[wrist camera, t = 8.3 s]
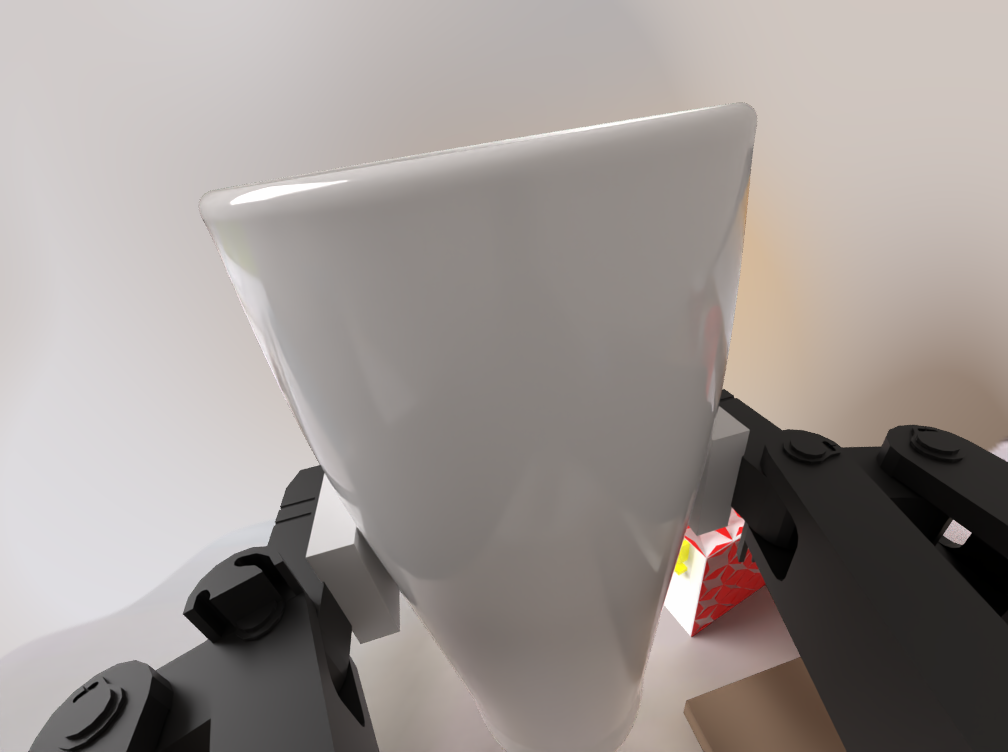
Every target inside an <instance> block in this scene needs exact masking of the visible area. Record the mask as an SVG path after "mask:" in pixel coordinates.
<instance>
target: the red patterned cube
mask: <svg viewBox="0 0 1008 752" xmlns="http://www.w3.org/2000/svg"><path fill="white" fill-rule="evenodd" d="M744 522H745V521H744V519H743V518H742V517H741V516H740V515H739V514H738V513H737V512H736V511H735V510H734V509H733V508H732V509H731V514H730V518H729V522H728V526H727V527H724V528H721V529H718V530H714V531H711V532H708V533H705V534H702V535H699V536H696V535H695V533H694V532H693V531H692V530H691V528H690V527H689V526H688V527H687V531H686V534H685V537H684V540H683V544H682V547H681V550H680V554H679V557H678V560H677V564H676V567H675V570H674V573H673V577H672V580H671V583H670V587H669V590H668V593H667V597H666V600H665V604H664V605H665V607H666V608H667V609H668V610H669V611H670V612H671V614H672V615H673V616H674V617H675V618H676V619H677V621H678V622H679V623H680V624H681V625H682V626H683V628H684V629H685V630H686V631H687V632H688V634H689V635H690V636H691V637H692V636H694V635H695V634H697V633H698V632H699V631H701V630H702V629H704V628H705V627H707V626H708V625H709V624H711V623H712V621H713V620H716V619H717V618H719V617H720V616H722V615H723V614H724V613H726V612H727V611H729V610H730V609H731V608H733V607H734V606H736V605H737V604H739V603H740V602H741V601H743V600H744V599H746V598H747V597H749V596H750V595H751V594H753V593H754V592H756V591H757V590H758V589H759V588H761V587H763V586H764V585H766V584H765V581H764V579H763V577H762V575H761V573H760V571H759V569H758V567H757V565H756V563H755V562H752V561H751V559H752V555H751V552H750V550H749V548H748V550H747V553H746V557H745V560H744V562H738V558H737V553H736V552H737V549H738V545H739V541H740V537H741V534H742V530H743V526H744Z"/></svg>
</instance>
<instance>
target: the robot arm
mask: <svg viewBox="0 0 1008 752" xmlns="http://www.w3.org/2000/svg"><path fill="white" fill-rule="evenodd" d="M280 507H281V510H279V512H278V515H277V518H276V521H275V523H276V526H274V527H273V530H272V533H271V536H270V539H269V542H268V545H267V546H265V547H252V548H249V549H247V550H244V551H241V552H238V553H236V554H234V555H232V556H230V557H229V558H227V559H226V560H224V561H223V562H221V563H219V564H218V565H216V566H215V567H214V568H213V569H212V570H211V571H210V572H209V573H208V574H207V575H206V576H205V577H203V578H202V579H201V580H200V582H199V583H198V584H197V586H196V587H195V589H194V590H193V591H192V593H191V594H190V596H189V597H188V600H187V603H186V606H185V609H184V612H183V615H184V616H185V617H186V618H187V619H188V620H189V621H190V622H191V623H192V624H194V625H195V626H196V627H197V628H198V629H199V630H200V631H201V632H202V633H203V634H204V635H205V636H206V637H207V638H208V640H207V641H205V642H204V643H202V644H200V645H199V646H197V647H195V648H194V649H192V650H190V651H188V652H187V653H185V654H183V655H181V656H180V657H178V658H176V659H175V660H173V661H171V662H169V663H168V664H166V665H164V666H163V667H161V668H159V669H157V670H156V671H155V670H154V669H153V668H152V667H150V666H149V665H148V664H145V663H142V662H139V661H136V660H134V661H129V662H125V663H120V664H117V665H115V666H113V667H111V668H109V669H107V670H105V671H103V672H101V673H99V674H97V675H96V676H94V677H93V678H92V679H90V680H89V681H88V682H86V683H85V684H84V685H83V686H81V687H80V688H79V689H77V690H76V691H75V692H73V693H72V694H71V696H70V697H69V698H68V699H67V700H66V701H65V702H64V703H63V704H62V705H61V706H60V707H59V708H58V709H57V710H56V711H55V712H54V713H53V714H52V716H51V717H50V718H49V720H48V721H47V723H46V724H45V726H44V727H43V729H42V730H41V731H40V733H39V734H38V736H37V737H36V739H35V741H34V742H33V744H32V746H31V748H30V750H29V751H28V752H379V749H378V745H377V741H376V738H375V734H374V730H373V726H372V723H371V719H370V715H369V712H368V708H367V704H366V700H365V697H364V693H363V689H362V685H361V682H360V678H359V674H358V670H357V667H356V665H355V664H354V662H353V660H352V658H351V657H350V655H349V654H350V644H351V633H352V631H353V633H354V634H355V636H356V637H357V639H358V640H359V642H360V644H362V643H365V642H368V641H372V640H375V639H378V638H381V637H384V636H387V635H390V634H393V633H397V632H400V604H399V589H398V587H397V586H396V584H395V583H394V581H393V580H392V578H391V577H390V575H389V574H388V573H387V571H386V570H385V568H384V567H383V565H382V564H381V562H380V561H379V559H378V558H377V556H376V555H375V553H374V552H373V550H372V549H371V547H370V546H369V544H368V543H367V541H366V540H365V538H364V537H363V535H362V534H361V532H360V531H359V529H358V528H357V526H356V525H355V523H354V521H353V520H352V518H351V517H350V515H349V513H348V512H347V510H346V509H345V507H344V505H343V504H342V502H341V501H340V499H339V497H338V495H337V494H336V492H335V490H334V488H333V487H332V485H331V483H330V481H329V480H328V478H327V476H326V475H325V473H324V471H323V469H322V468H321V466H320V465H319V466H315V467H311V468H308V469H304V470H300V471H299V473H298V474H297V475H296V477H295V478H294V479H293V481H292V482H291V483H290V484H289V485H288V487H287V488H286V491H285V494H284V497H283V500H282V503H281V506H280ZM732 508H733V509H734V510H735V511H736V512H737V513H738V514H739V515H740V516H741V517H742V518H743V519H744V521H745V522H744V526H743V530H742V534H741V537H740V541H739V545H738V549H737V552H736V553H737V558H738V562H744V560H745V557H746V553H747V550H748V548H749V550H750V552H751V555H752V559H751V561H752V562H755V563H756V565H757V567H758V569H759V571H760V573H761V575H762V577H763V579H764V581H765V584H766V586H767V588H768V590H769V592H770V594H771V596H772V598H773V600H774V602H775V604H776V606H777V608H778V611H779V613H780V615H781V617H782V619H783V621H784V623H785V625H786V627H787V629H788V631H789V633H790V635H791V637H792V640H793V642H794V644H795V646H796V648H797V650H798V652H799V654H800V656H801V658H802V660H803V662H804V664H805V667H806V669H807V671H808V673H809V675H810V677H811V679H812V681H813V683H814V685H815V687H816V689H817V691H818V693H819V696H820V698H821V700H822V702H823V704H824V706H825V708H826V710H827V712H828V714H829V716H830V718H831V720H832V722H833V725H834V727H835V729H836V731H837V733H838V735H839V737H840V739H841V741H842V743H843V745H844V747H845V749H846V752H1008V462H1006V461H1005V460H1003V459H1001V458H999V457H997V456H996V455H994V454H992V453H990V452H988V451H986V450H985V449H983V448H981V447H979V446H977V445H976V444H974V443H972V442H970V441H968V440H966V439H964V438H962V437H959V436H957V435H955V434H952V433H950V432H947V431H943V430H940V429H937V428H932V427H927V426H918V425H904V426H897V427H895V428H893V429H890V430H889V431H888V434H887V436H886V438H885V440H884V443H883V444H882V447H849V448H847V447H846V448H841V447H840V446H839V445H838V444H836V443H835V442H834V441H832V440H830V439H827V438H825V437H823V436H821V435H819V434H815V433H811V432H807V431H803V430H790V429H788V430H781V429H780V428H778V427H777V426H775V425H774V424H773V423H771V422H770V421H768V420H767V419H765V418H764V417H763V416H761V415H760V414H758V413H757V412H756V411H754V410H753V409H752V408H750V407H749V406H747V405H746V404H744V403H743V402H742V401H740V400H739V399H737V398H734V396H733V395H732V394H730V393H729V392H728V391H726V390H725V389H723V390H722V393H721V398H720V403H719V408H718V413H717V418H716V422H715V427H714V432H713V436H712V441H711V445H710V449H709V453H708V457H707V461H706V465H705V469H704V472H703V476H702V479H701V483H700V486H699V490H698V493H697V497H696V500H695V504H694V507H693V511H692V514H691V517H690V521H689V524H688V526H689V527H690V528H691V530H692V531H693V532H694V533H695V535H696V536H699V535H702V534H705V533H708V532H711V531H714V530H718V529H721V528H724V527H727V526H728V522H729V518H730V514H731V509H732ZM952 520H955V521H956V522H958V523H959V524H960V525H962V526H963V527H965V528H966V529H967V530H969V531H970V532H972V534H971V535H970V536H969V538H968V539H967V541H966V542H965V543H964V544H963V545H960V544H957V543H954V542H952V541H950V540H949V539H947V538H945V537H944V536H943V534H944V532H945V531H946V529H947V528H948V526H949V525H950V523H951V522H952Z"/></svg>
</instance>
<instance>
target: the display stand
mask: <svg viewBox="0 0 1008 752" xmlns="http://www.w3.org/2000/svg"><path fill="white" fill-rule="evenodd" d="M684 715H685V716H686V718H687V720H688V722H689V724H690V726H691V728H692V730H693V732H694V734H695V736H696V738H697V740H698V742H699V744H700V745H701V747H702V749H703V751H704V752H846V749H845V747H844V745H843V743H842V741H841V739H840V737H839V735H838V733H837V731H836V729H835V727H834V725H833V722H832V720H831V718H830V716H829V714H828V712H827V710H826V708H825V706H824V704H823V702H822V700H821V698H820V696H819V693H818V691H817V689H816V687H815V685H814V683H813V681H812V679H811V677H810V675H809V673H808V671H807V669H806V667H805V664H804V662H803V660H802V658H801V657H799V658H797V659H794V660H791V661H789V662H786V663H784V664H781V665H778V666H776V667H773V668H771V669H768V670H765V671H763V672H760V673H757V674H755V675H752V676H750V677H747V678H744V679H742V680H739V681H737V682H734V683H731V684H729V685H726V686H723V687H721V688H718V689H716V690H713V691H710V692H708V693H705V694H703V695H700V696H697V697H695V698H692V699H689V700H687V701H686V704H685V709H684Z"/></svg>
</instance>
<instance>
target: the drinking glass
mask: <svg viewBox="0 0 1008 752" xmlns="http://www.w3.org/2000/svg"><path fill="white" fill-rule="evenodd" d="M756 127H757V115H756V112H755V110H754V108H753V107H752V106H750V105H749V104H747V103H732V104H725V105H719V106H712V107H706V108H699V109H693V110H686V111H680V112H674V113H667V114H661V115H655V116H648V117H642V118H636V119H630V120H624V121H618V122H611V123H606V124H599V125H593V126H587V127H581V128H575V129H568V130H562V131H556V132H550V133H544V134H538V135H532V136H526V137H520V138H514V139H508V140H502V141H496V142H490V143H484V144H478V145H472V146H466V147H460V148H455V149H448V150H442V151H437V152H430V153H424V154H418V155H412V156H406V157H400V158H395V159H389V160H383V161H377V162H371V163H365V164H360V165H353V166H348V167H342V168H336V169H330V170H324V171H319V172H313V173H307V174H301V175H295V176H290V177H284V178H278V179H272V180H267V181H261V182H255V183H250V184H244V185H239V186H233V187H228V188H223V189H217V190H212V191H209V192H207V193H205V194H204V195H203V196H202V198H201V199H200V202H199V211H200V214H201V217H202V219H203V221H204V223H205V225H206V226H207V229H208V231H209V233H210V235H211V237H212V239H213V241H214V243H215V246H216V248H217V250H218V252H219V255H220V257H221V259H222V261H223V264H224V266H225V268H226V271H227V273H228V275H229V278H230V280H231V282H232V285H233V287H234V289H235V292H236V294H237V296H238V299H239V301H240V303H241V305H242V308H243V310H244V312H245V314H246V316H247V318H248V321H249V323H250V326H251V328H252V330H253V332H254V334H255V337H256V338H257V341H258V343H259V345H260V347H261V349H262V352H263V354H264V356H265V358H266V360H267V363H268V364H269V367H270V369H271V371H272V373H273V375H274V377H275V379H276V381H277V383H278V385H279V387H280V390H281V391H282V393H283V396H284V398H285V399H286V401H287V404H288V406H289V407H290V409H291V411H292V413H293V415H294V417H295V419H296V421H297V423H298V425H299V427H300V429H301V431H302V433H303V435H304V436H305V438H306V440H307V442H308V444H309V446H310V448H311V450H312V451H313V453H314V455H315V457H316V459H317V461H318V462H319V464H320V466H321V468H322V469H323V471H324V473H325V475H326V476H327V478H328V480H329V481H330V483H331V485H332V487H333V488H334V490H335V492H336V494H337V495H338V497H339V499H340V501H341V502H342V504H343V505H344V507H345V509H346V510H347V512H348V513H349V515H350V517H351V518H352V520H353V521H354V523H355V525H356V526H357V528H358V529H359V531H360V532H361V534H362V535H363V537H364V538H365V540H366V541H367V543H368V544H369V546H370V547H371V549H372V550H373V552H374V553H375V555H376V556H377V558H378V559H379V561H380V562H381V564H382V565H383V567H384V568H385V570H386V571H387V573H388V574H389V575H390V577H391V578H392V580H393V581H394V583H395V584H396V586H397V587H398V589H399V590H400V591H401V593H402V594H403V596H404V597H405V599H406V600H407V602H408V603H409V604H410V606H411V607H412V609H413V610H414V612H415V613H416V615H417V616H418V618H419V619H420V620H421V622H422V623H423V625H424V626H425V628H426V629H427V631H428V632H429V634H430V635H431V636H432V638H433V639H434V641H435V642H436V644H437V645H438V647H439V648H440V650H441V651H442V653H443V654H444V656H445V657H446V659H447V660H448V662H449V663H450V665H451V666H452V667H453V669H454V670H455V672H456V673H457V675H458V676H459V678H460V679H461V681H462V682H463V684H464V686H465V687H466V689H467V690H468V692H469V693H470V695H471V696H472V698H473V699H474V701H475V704H476V706H477V708H478V711H479V713H480V715H481V717H482V719H483V721H484V723H485V725H486V727H487V728H488V730H489V732H490V733H491V734H492V736H493V737H494V738H495V740H496V741H497V742H498V743H499V745H500V746H501V747H502V748H503V749H504V750H505V751H506V752H615V751H616V750H617V749H618V748H619V747H620V746H621V745H622V743H623V742H624V741H625V739H626V738H627V736H628V734H629V733H630V731H631V729H632V727H633V725H634V722H635V720H636V717H637V714H638V711H639V708H640V703H641V698H642V691H643V681H644V673H645V670H646V666H647V662H648V659H649V655H650V652H651V648H652V645H653V641H654V638H655V634H656V631H657V627H658V624H659V620H660V617H661V614H662V610H663V607H664V604H665V600H666V597H667V593H668V590H669V587H670V583H671V580H672V577H673V573H674V570H675V567H676V564H677V560H678V557H679V554H680V550H681V547H682V544H683V540H684V537H685V534H686V531H687V527H688V524H689V521H690V517H691V514H692V511H693V507H694V504H695V500H696V497H697V493H698V490H699V486H700V483H701V479H702V476H703V472H704V469H705V465H706V461H707V457H708V453H709V449H710V445H711V441H712V436H713V432H714V427H715V422H716V418H717V413H718V408H719V403H720V398H721V393H722V387H723V382H724V376H725V371H726V365H727V359H728V352H729V346H730V340H731V333H732V327H733V320H734V314H735V307H736V299H737V292H738V284H739V277H740V268H741V260H742V252H743V243H744V234H745V224H746V214H747V205H748V194H749V185H750V174H751V163H752V154H753V146H754V138H755V133H756Z"/></svg>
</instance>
